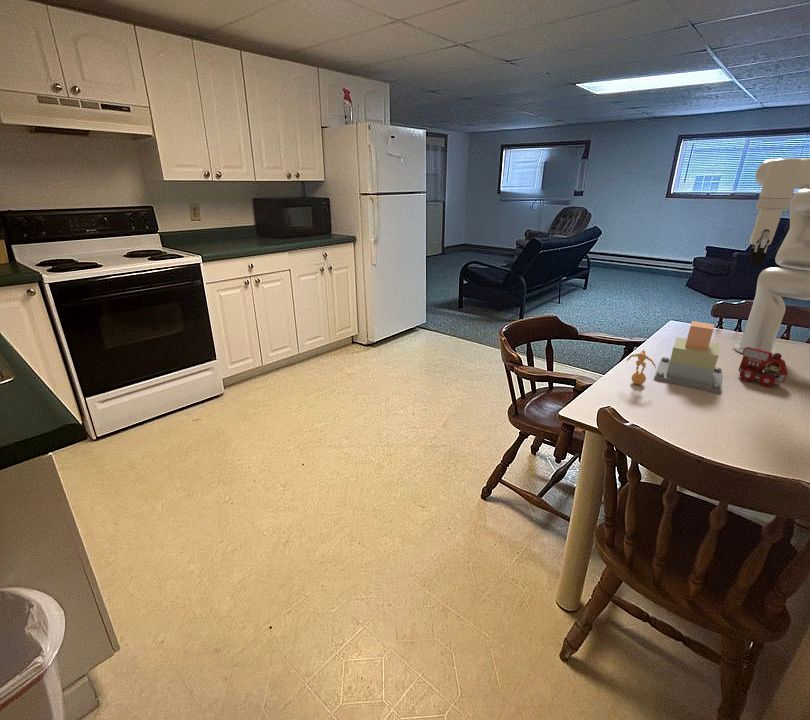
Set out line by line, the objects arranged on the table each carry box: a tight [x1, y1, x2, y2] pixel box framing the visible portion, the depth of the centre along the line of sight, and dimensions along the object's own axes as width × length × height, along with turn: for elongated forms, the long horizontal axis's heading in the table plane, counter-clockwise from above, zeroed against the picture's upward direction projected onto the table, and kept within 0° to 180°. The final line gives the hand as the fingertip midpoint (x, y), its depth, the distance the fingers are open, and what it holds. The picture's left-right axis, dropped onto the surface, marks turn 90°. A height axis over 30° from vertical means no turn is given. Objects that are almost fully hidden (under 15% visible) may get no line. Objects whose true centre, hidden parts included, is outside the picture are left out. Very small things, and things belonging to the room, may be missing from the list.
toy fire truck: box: [738, 347, 789, 388], centre depth 140 cm, size 7×12×10 cm, turn 42°
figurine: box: [626, 349, 657, 386], centre depth 136 cm, size 8×6×12 cm
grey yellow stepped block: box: [653, 336, 723, 395], centre depth 142 cm, size 18×18×11 cm
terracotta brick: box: [685, 320, 715, 350], centre depth 139 cm, size 6×6×7 cm
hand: (754, 263), depth 135 cm, fingers open, 9 cm apart
